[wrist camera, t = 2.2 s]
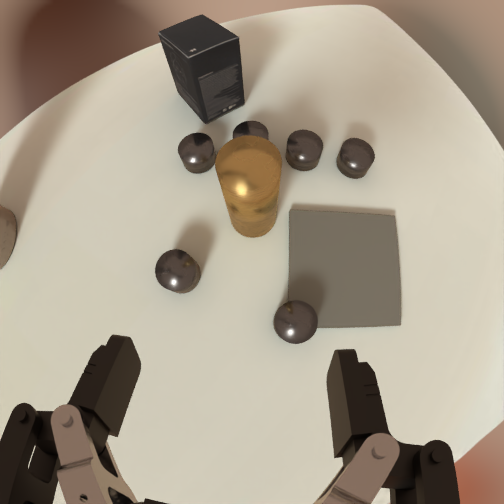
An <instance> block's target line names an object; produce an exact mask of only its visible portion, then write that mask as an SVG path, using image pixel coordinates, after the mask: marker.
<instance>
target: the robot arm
mask: <svg viewBox="0 0 504 504" xmlns="http://www.w3.org/2000/svg"><path fill="white" fill-rule="evenodd" d="M15 237H16V220H15V216H14V215H13V213H12V212H11V211H10V210H8V209H7V208H5V207H3V206H1V205H0V269H1V268H2V267H3V266H4V265H5V264H6V262H7V261H8V259H9V257H10V255H11V252H12V249H13V247H14V243H15ZM140 370H141V361H140V358H139V356H138V353H137V351H136V349H135V346H134V344H133V341H132V339H131V338H130V337H127V336H120V335H112V336H111V337H110V338H109V340H108V342H107V344H106V346H104V345H101V346H100V347H99V348H98V349H97V350H96V351H95V352H94V353H93V354H92V356H91V358H90V360H89V362H88V365H87V366H86V368H85V370H84V373H83V374H82V376H81V378H80V380H79V382H78V384H77V386H76V388H75V390H74V392H73V394H72V396H71V399H70V401H69V402H68V404H66V405H61V406H59V407H58V408H56V409H55V410H54V411H36V410H35V409H34V408H33V407H32V406H31V405H30V404H27V403H21V404H19V405H17V406H16V407H15V408H14V409H13V411H12V413H11V415H10V418H9V420H8V423H7V425H6V427H5V430H4V432H3V435H2V438H1V440H0V504H53V500H54V495H55V491H56V487H57V483H58V480H59V483H60V486H61V489H62V492H63V495H64V498H65V501H66V504H167V503H163V502H158V501H154V500H150V499H146V498H145V501H144V502H138V501H137V500H136V498H135V496H134V494H133V492H132V490H131V489H130V488H129V486H128V485H127V484H126V482H125V481H124V480H123V478H122V476H121V474H120V471H119V469H118V467H117V464H116V462H115V460H114V457H113V455H112V452H111V450H110V447H109V445H108V442H107V438H108V435H112V436H115V437H118V435H119V431H120V428H121V425H122V422H123V419H124V417H125V414H126V411H127V408H128V405H129V402H130V399H131V396H132V394H133V391H134V388H135V385H136V383H137V380H138V377H139V374H140ZM377 384H378V383H377V379H376V376H375V372H374V371H373V369H372V368H371V367H370V365H369V364H368V363H367V362H358V358H357V354H356V351H355V350H354V349H344V350H335V351H334V354H333V357H332V360H331V364H330V367H329V370H328V373H327V392H328V400H329V409H330V418H331V428H332V438H333V448H334V458H338V457H343V466H342V467H341V469H340V470H339V472H338V473H337V474H336V476H335V477H334V478H333V480H332V481H331V482H330V484H329V485H328V486H327V488H326V489H325V490H324V491H323V493H322V494H321V495H320V496H319V498H318V499H317V500H316V501H315V502H314V503H313V504H371V503H372V501H373V499H374V498H375V496H376V495H377V493H378V492H379V490H380V488H390V502H391V504H460V499H459V491H458V484H457V477H456V471H455V466H454V460H453V455H452V451H451V448H450V447H449V445H448V444H447V443H445V442H443V441H441V440H433V441H430V442H428V443H427V444H426V445H424V446H422V445H412V444H405V443H401V442H399V441H397V440H396V439H395V438H393V436H392V435H391V434H390V432H389V430H388V426H387V422H386V417H385V413H384V408H383V404H382V400H381V395H380V391H379V387H378V386H377ZM34 446H36V447H35V450H34V453H33V456H32V459H31V462H30V466H29V469H28V464H29V461H30V458H31V455H32V452H33V449H34Z"/></svg>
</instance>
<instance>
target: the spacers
mask: <svg viewBox="0 0 504 504" xmlns="http://www.w3.org/2000/svg"><path fill="white" fill-rule="evenodd" d="M249 135H250V136H258V137H262V138H264V139H267V140H268V130H267V128H266V127H265V126H264V125H263V124H261V123H259V122H256V121H246V122H242V123H240V124H239V125H237V126H236V128H235V129H234V131H233V139H234V138H237V137H241V136H249ZM322 150H323V142H322V140H321V138H320V137H319V136H318V135H317V134H315V133H314V132H312V131H308V130H298V131H295V132H293V133H292V134H291V135H290V136H289V138H288V141H287V149H286V160H287V162H288V163H289V165H290V166H291V167H293V168H294V169H296V170H299V171H309V170H312V169H314V168H315V167H316V166H317V165H318V162H319V159H320V156H321V153H322ZM178 153H179V155H180V158H181V160H182V162H183V164H184V166H185V168H186V169H187V170H188V171H189V172H191V173H196V174H199V173H204V172H206V171H208V170H210V169H211V168H212V167H213V166H214V164H215V161H216V153H215V150H214V146H213V142H212V140H211V138H210V137H209V136H208V135H206V134H204V133H193V134H190V135H188V136H186V137H185V138H184V139H183V140H182V141H181V142H180V144H179V146H178ZM374 159H375V154H374V151H373V149H372V147H371V146H370V145H369V144H368V143H367V142H365V141H363V140H361V139H358V138H350V139H348V140H346V141H345V142H344V143H343V145H342V147H341V150H340V152H339V154H338V157H337V161H336V162H337V167H338V169H339V170H340V172H341V173H342V174H344V175H345V176H347V177H349V178H353V179H358V178H362V177H363V176H364V175H365V174H366V173H367V171H368V170H369V168H370V166H371V165H372V163H373V161H374ZM155 274H156V278H157V280H158V282H159V283H160V284H161V285H162V286H163V287H164V288H166V289H168V290H171V291H173V292H176V293H187V292H190V291H191V290H193V289H194V288H195V287H196V286H197V284H198V282H199V280H200V268H199V266H198V264H197V263H196V261H195V260H194V259H193V258H192V257H190V256H189V255H188V254H187V253H186V252H184V251H182V250H177V249H175V250H170V251H167V252H165V253H164V254H163V255H162V256H161V257H160V258H159V260H158V261H157V264H156V268H155ZM273 325H274V329H275V331H276V333H277V334H278V336H279V337H280V338H282V339H283V340H285V341H286V342H289V343H293V344H299V343H303V342H305V341H307V340H309V339H310V338H311V337H312V336H313V335H314V333H315V332H316V329H317V326H318V317H317V314H316V312H315V310H314V309H313V307H312V306H311V305H309V304H308V303H306V302H304V301H300V300H294V301H289V302H287V303H285V304H284V305H282V306H281V307H280V308H279V309H278V310H277V312H276V314H275V316H274V320H273Z"/></svg>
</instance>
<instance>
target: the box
mask: <svg viewBox="0 0 504 504" xmlns="http://www.w3.org/2000/svg"><path fill="white" fill-rule="evenodd" d="M158 34H159V37H160V40H161V43H162V46H163V49H164V52H165V55H166V58H167V61H168V64H169V67H170V70H171V73H172V76H173V79H174V82H175V85H176V88H177V91H178V93H179V94H180V96H181V97H182V98H183V99H184V100H185V101H186V102H187V104H188V105H189V106H190V107H191V108H192V109H193V111H194V112H195V113H196V114H197V115H198V116H199V118H200V119H201V120H202V121H203V122H204V123H205V124H208V123H210V122H211V121H213V120H216V119H217V118H219V117H222V116H223V115H225V114H227V113H229V112H231V111H233V110H235V109H237V108H239V107H241V106H243V105H244V103H245V102H244V90H243V78H242V66H241V54H240V44H239V37H238V36H236V35H235V34H233V33H232V32H230V31H229V30H227V29H225V28H224V27H222V26H221V25H219V24H217V23H215V22H214V21H212V20H211V19H209V18H207V17H206V16H204V15H199V16H196V17H193V18H191V19H188V20H185V21H183V22H181V23H178V24H176V25H173V26H171V27H169V28H167V29H164V30H162V31H160V32H159V33H158Z"/></svg>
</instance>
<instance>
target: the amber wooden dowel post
mask: <svg viewBox="0 0 504 504" xmlns="http://www.w3.org/2000/svg"><path fill="white" fill-rule="evenodd" d="M281 167H282V158H281V155H280V152H279V151H278V149H277V148H276V146H275V145H274V144H273V143H271V142H270V141H268V140H267V139H264V138H262V137H258V136H250V135H249V136H241V137H237V138H234V139H232V140H230V141H229V142H227V143H226V144H225V145H224V146H223V147H222V148H221V149H220V150H219V152H218V154H217V157H216V161H215V168H216V172H217V175H218V179H219V182H220V185H221V189H222V192H223V196H224V199H225V202H226V206H227V209H228V212H229V216H230V219H231V223H232V225H233V227H234V229H235V230H236V231H237V232H238V233H240V234H241V235H243V236H246V237H252V238H254V237H260V236H263V235H265V234H266V233H268V232H269V231H270V230H271V229H272V227H273V226H274V224H275V220H276V212H277V204H278V195H279V186H280V176H281Z"/></svg>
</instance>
